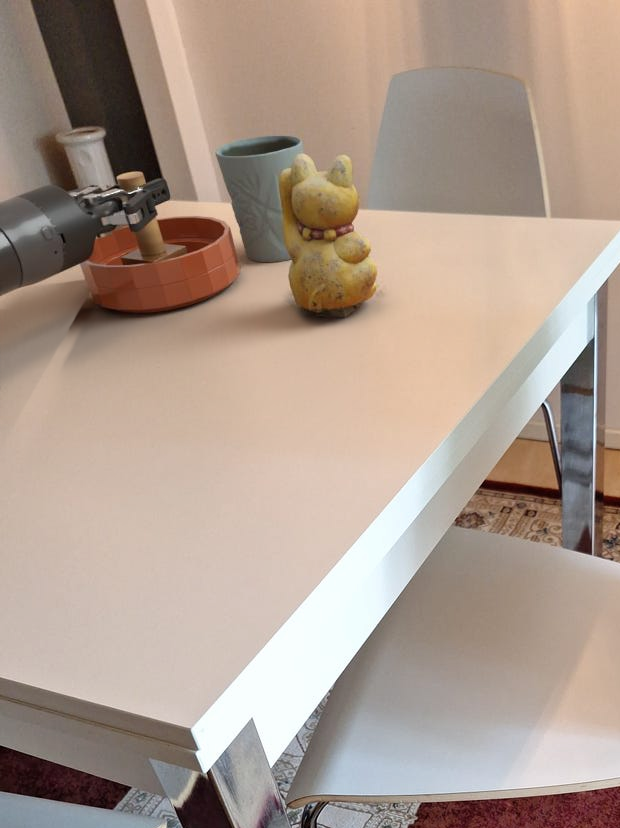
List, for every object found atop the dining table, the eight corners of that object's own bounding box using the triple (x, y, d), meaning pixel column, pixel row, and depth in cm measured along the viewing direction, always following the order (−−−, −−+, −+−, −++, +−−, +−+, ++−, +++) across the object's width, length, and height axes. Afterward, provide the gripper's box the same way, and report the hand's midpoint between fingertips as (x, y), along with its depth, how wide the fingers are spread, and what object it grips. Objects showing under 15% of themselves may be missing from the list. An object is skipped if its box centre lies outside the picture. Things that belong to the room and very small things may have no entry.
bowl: (80, 325, 102) (61, 275, 98) (109, 272, 115) (93, 226, 111) (235, 305, 102) (221, 255, 99) (246, 255, 115) (235, 208, 112)
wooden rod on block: (131, 292, 106) (94, 180, 98) (163, 276, 109) (129, 167, 102) (164, 297, 104) (129, 183, 96) (195, 281, 107) (164, 169, 99)
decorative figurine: (389, 295, 101) (367, 144, 91) (369, 325, 95) (342, 167, 85) (306, 296, 103) (275, 148, 93) (281, 326, 97) (245, 172, 87)
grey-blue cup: (226, 263, 114) (199, 157, 106) (264, 235, 121) (241, 134, 113) (300, 264, 111) (277, 155, 103) (334, 236, 118) (315, 132, 110)
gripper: (1, 269, 96) (122, 218, 107) (94, 283, 91) (211, 227, 102) (-31, 193, 92) (99, 147, 103) (65, 202, 86) (192, 153, 97)
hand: (154, 187), depth 102 cm, fingers closed on wooden rod on block, 3 cm apart
